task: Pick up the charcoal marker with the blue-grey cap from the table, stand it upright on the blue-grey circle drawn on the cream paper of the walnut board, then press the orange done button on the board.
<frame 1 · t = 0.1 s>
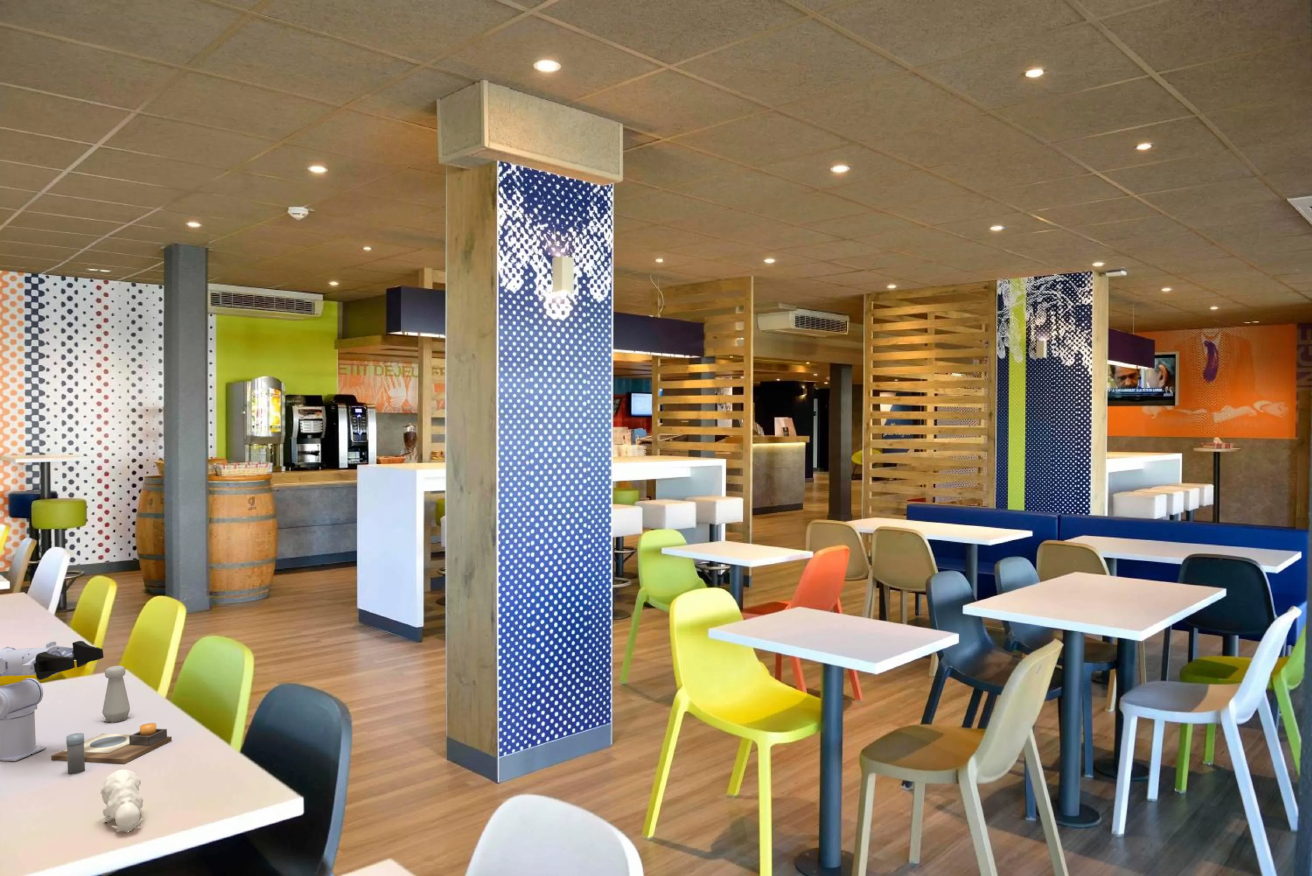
hand: (87, 658, 195), 22 cm above the table, tool horizontal, fingers open, 7 cm apart
done button: (148, 729, 202), point 4 cm above the table, slide at 0.0 cm
white crouching figurine: (125, 825, 161), on the table
salt shaker: (116, 720, 222), on the table
marker: (76, 771, 188), on the table
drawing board: (113, 750, 200), on the table
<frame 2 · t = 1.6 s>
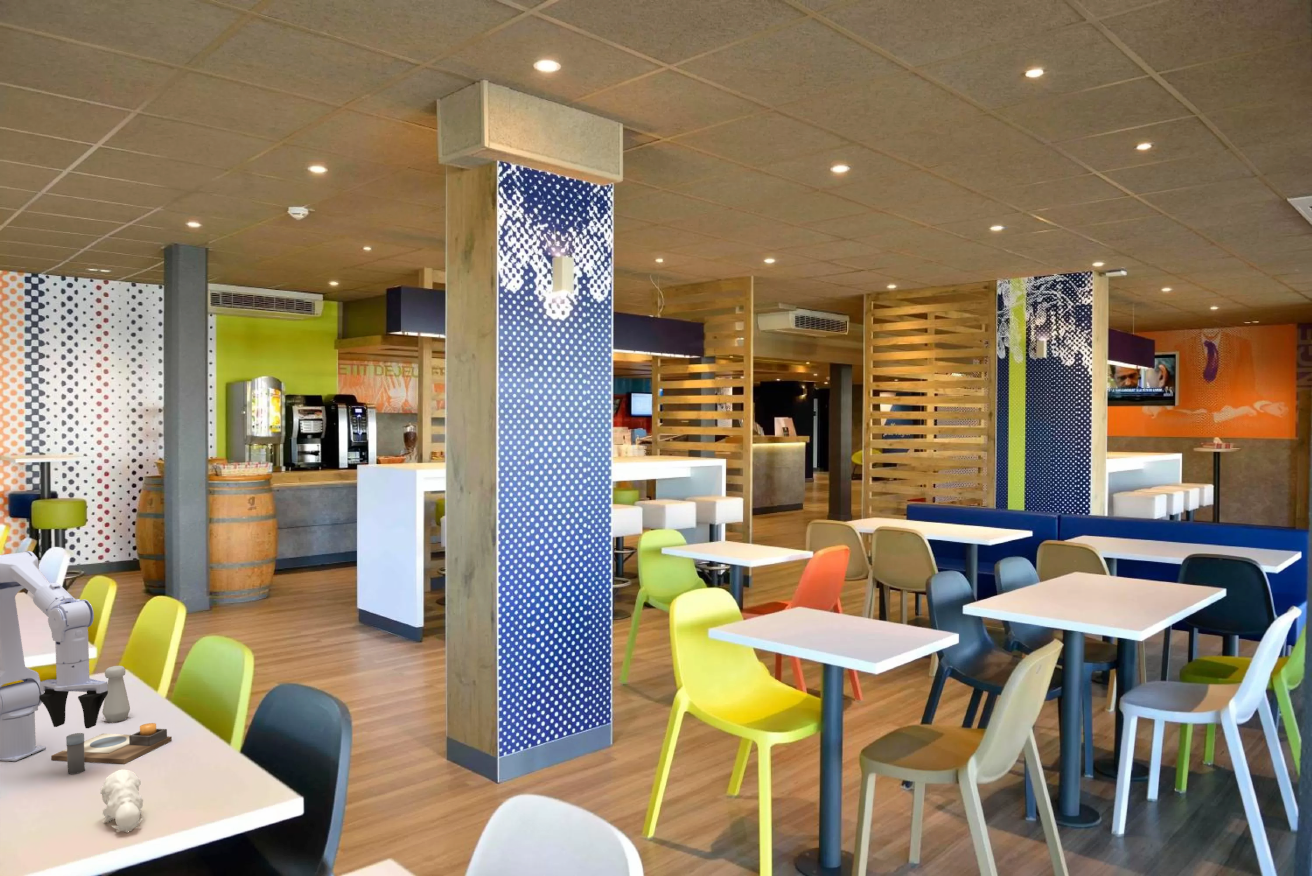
hand: (74, 726, 188), 9 cm above the table, tool pointing down, fingers open, 7 cm apart
nothing on the table moved.
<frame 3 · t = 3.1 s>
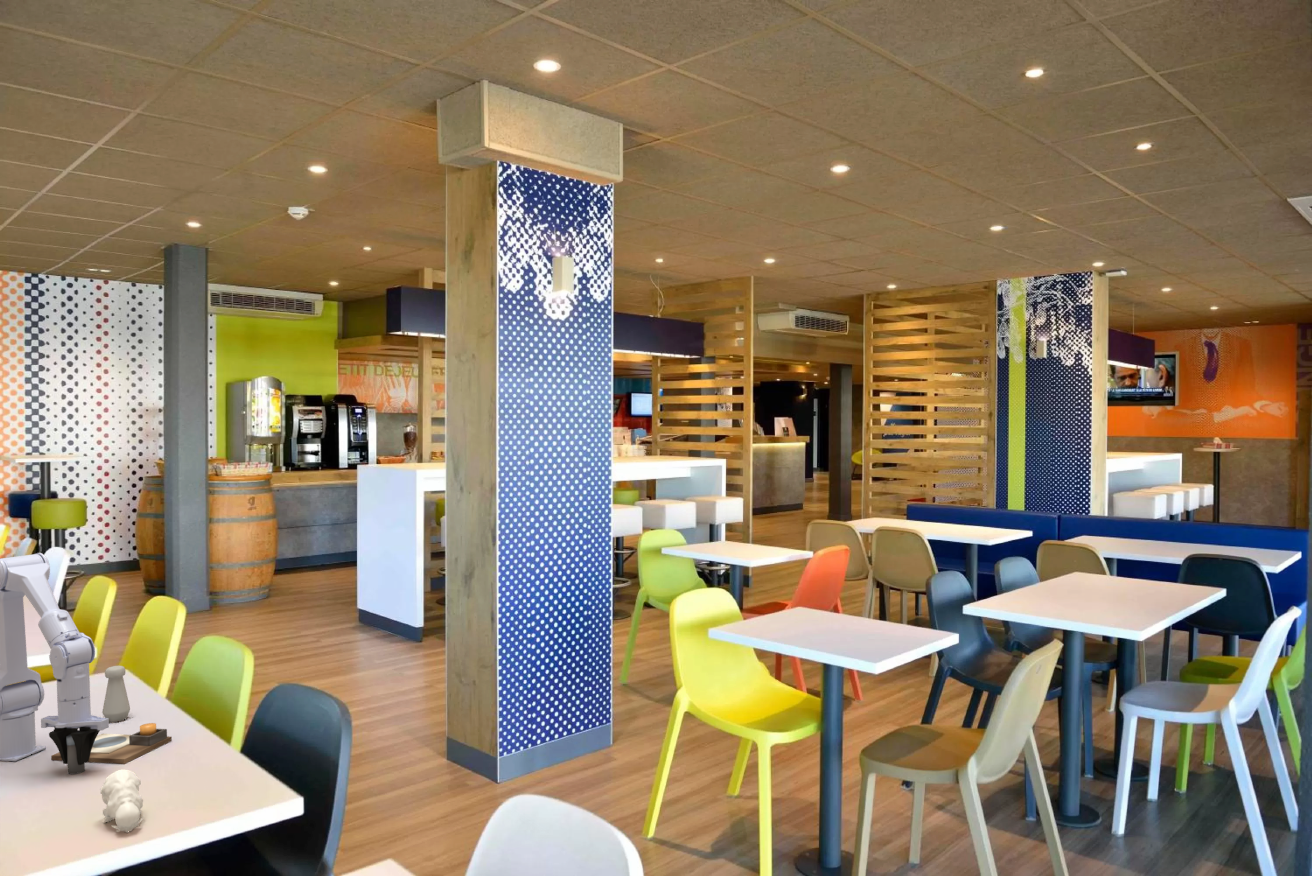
hand: (76, 762, 188), 2 cm above the table, tool pointing down, fingers closed on marker, 3 cm apart
marker: (76, 771, 188), on the table, touching gripper
everything else where it was.
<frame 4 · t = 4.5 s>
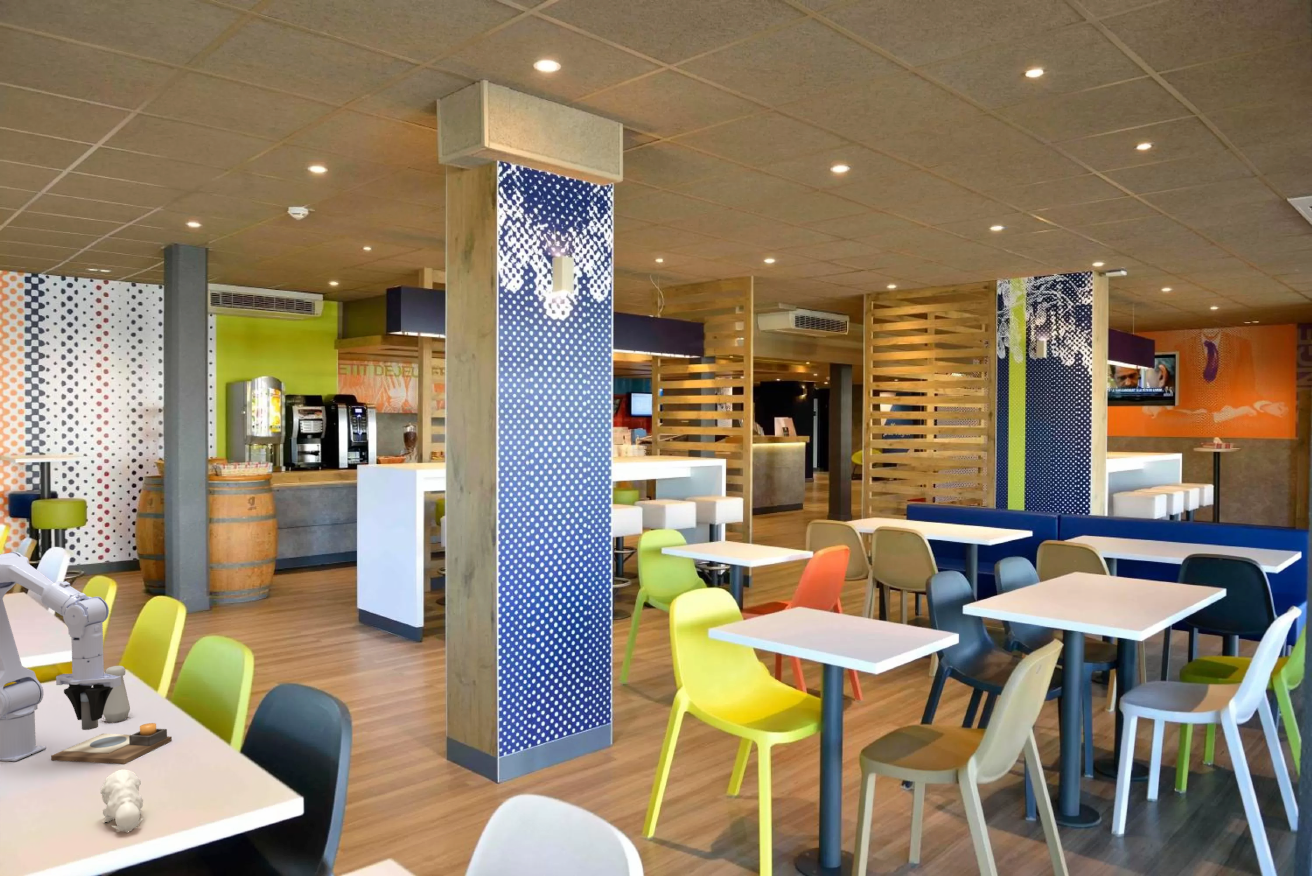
hand: (89, 719, 194), 9 cm above the table, tool pointing down, fingers closed on marker, 3 cm apart
marker: (90, 727, 194), point 7 cm above the table, touching gripper
everything else where it was.
when the fingers open (4 cm above the table, at t = 6.2 s): marker drops 1 cm, resting on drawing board.
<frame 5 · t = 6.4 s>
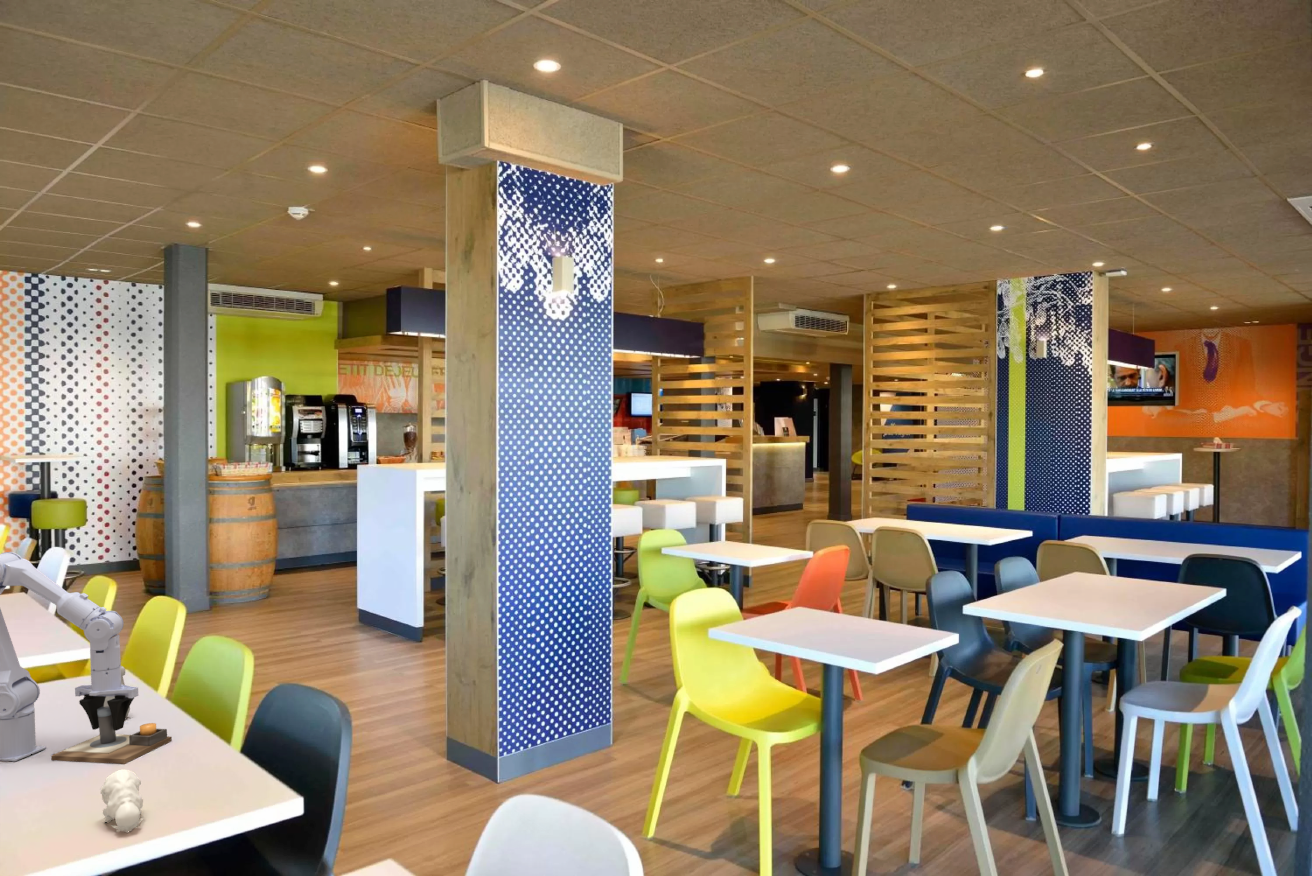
hand: (107, 728, 202), 4 cm above the table, tool pointing down, fingers open, 5 cm apart
marker: (108, 741, 202), point 1 cm above the table, touching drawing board
everything else where it was.
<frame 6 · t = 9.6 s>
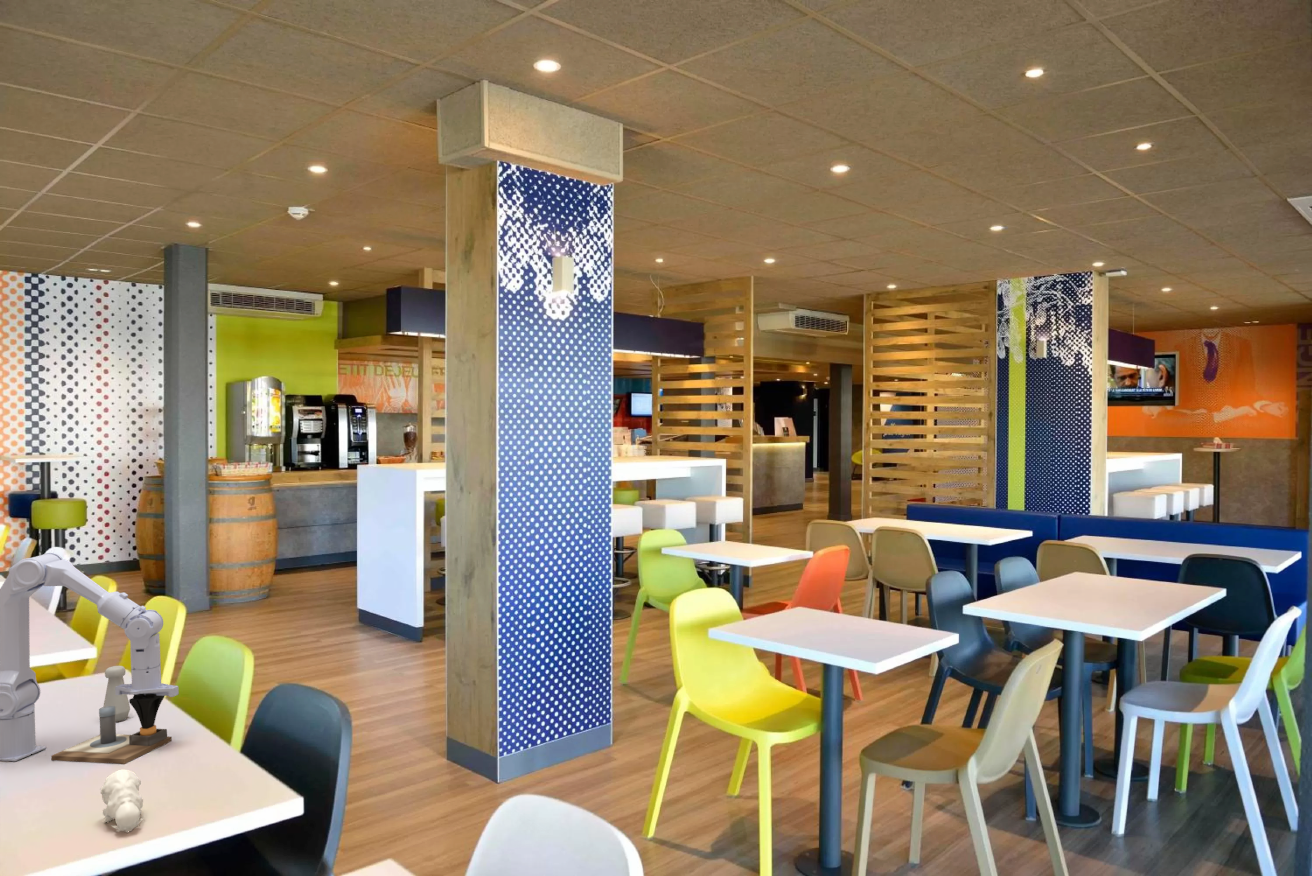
hand: (148, 727, 202), 4 cm above the table, tool pointing down, fingers closed, pressing on done button
done button: (148, 731, 202), point 3 cm above the table, slide at 0.4 cm, touching gripper
everything else where it was.
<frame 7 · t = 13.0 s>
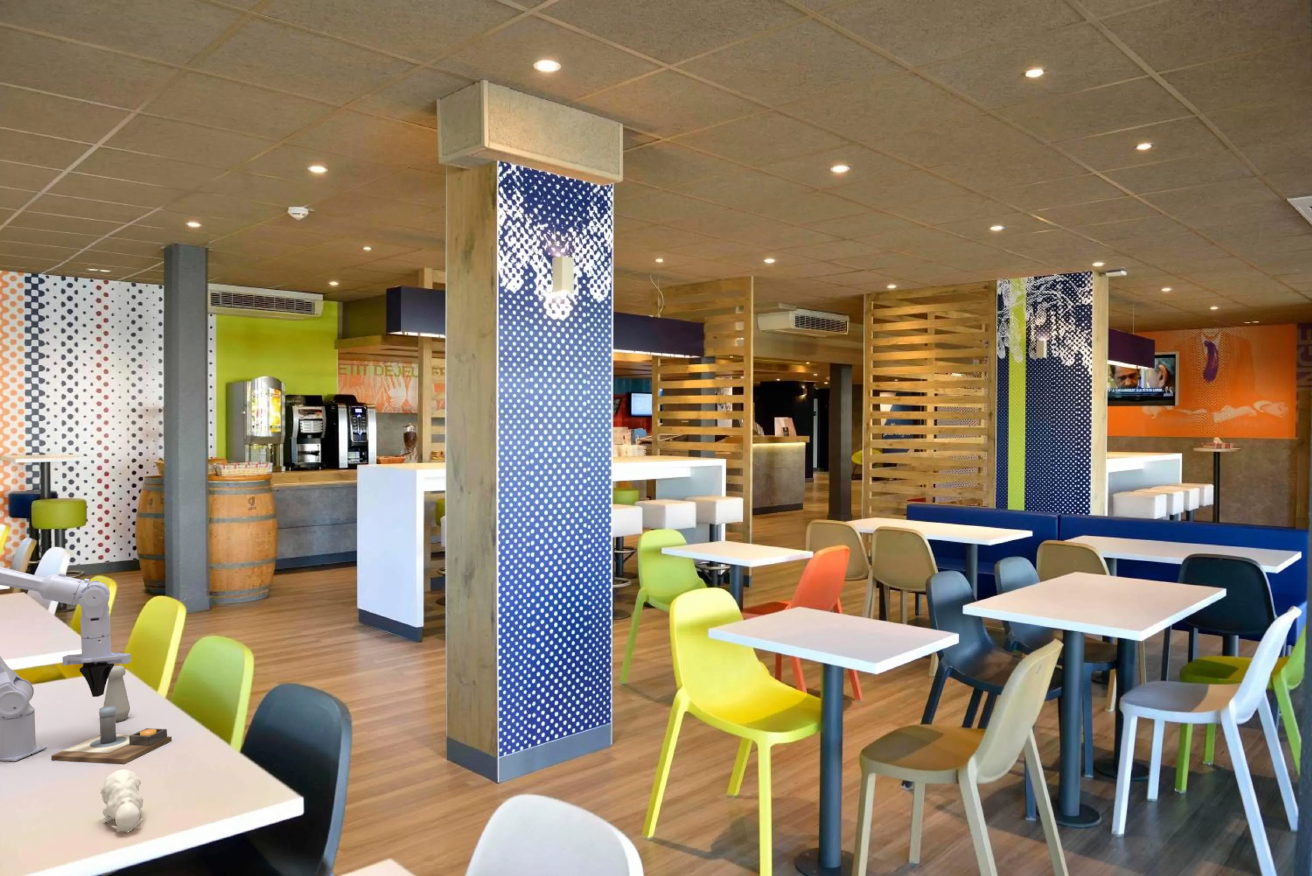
hand: (98, 695, 206), 10 cm above the table, tool pointing down, fingers closed
done button: (148, 735, 202), point 2 cm above the table, slide at 1.3 cm
everything else where it was.
at the end: marker 0.0 cm from the target spot on the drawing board, point 1.3 cm above the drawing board's base; marker tilted 0°; done button slide at 1.3 cm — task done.
